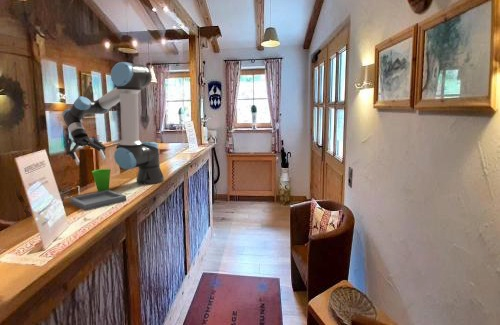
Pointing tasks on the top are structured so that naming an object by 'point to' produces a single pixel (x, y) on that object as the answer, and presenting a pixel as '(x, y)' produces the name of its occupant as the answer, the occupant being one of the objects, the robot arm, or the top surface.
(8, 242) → the top surface
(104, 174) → the cup
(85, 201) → the tray
